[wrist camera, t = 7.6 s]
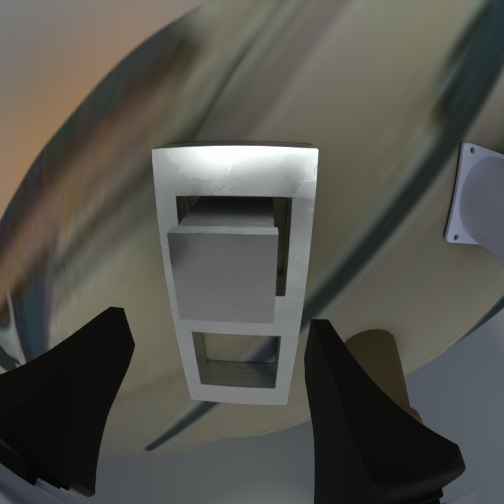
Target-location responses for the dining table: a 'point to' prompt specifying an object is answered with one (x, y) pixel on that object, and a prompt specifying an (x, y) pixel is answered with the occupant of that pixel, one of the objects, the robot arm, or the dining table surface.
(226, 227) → the grey rectangular block
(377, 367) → the cork
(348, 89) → the dining table surface
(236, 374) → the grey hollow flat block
